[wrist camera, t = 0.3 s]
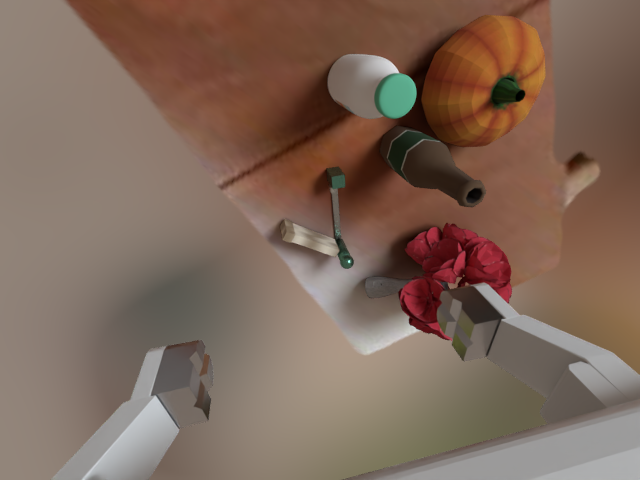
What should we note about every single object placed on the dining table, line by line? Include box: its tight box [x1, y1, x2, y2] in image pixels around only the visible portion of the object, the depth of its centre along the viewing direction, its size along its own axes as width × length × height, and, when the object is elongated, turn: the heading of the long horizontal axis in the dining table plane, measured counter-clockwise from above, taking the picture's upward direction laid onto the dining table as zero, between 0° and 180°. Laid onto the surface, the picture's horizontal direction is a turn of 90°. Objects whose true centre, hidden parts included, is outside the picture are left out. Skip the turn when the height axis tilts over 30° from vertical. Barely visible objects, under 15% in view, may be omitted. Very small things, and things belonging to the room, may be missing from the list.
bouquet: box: [365, 223, 512, 341], centre depth 65 cm, size 22×24×30 cm
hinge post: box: [335, 239, 354, 269], centre depth 63 cm, size 3×3×9 cm
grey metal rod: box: [332, 189, 341, 239], centre depth 62 cm, size 14×1×1 cm, turn 6°
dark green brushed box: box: [326, 167, 345, 193], centre depth 56 cm, size 3×3×4 cm
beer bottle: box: [379, 126, 486, 207], centre depth 47 cm, size 8×8×24 cm
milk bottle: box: [328, 54, 416, 119], centre depth 41 cm, size 8×8×20 cm
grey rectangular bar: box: [280, 219, 339, 257], centre depth 61 cm, size 12×2×5 cm, turn 61°
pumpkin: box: [421, 15, 545, 147], centre depth 47 cm, size 19×19×15 cm
